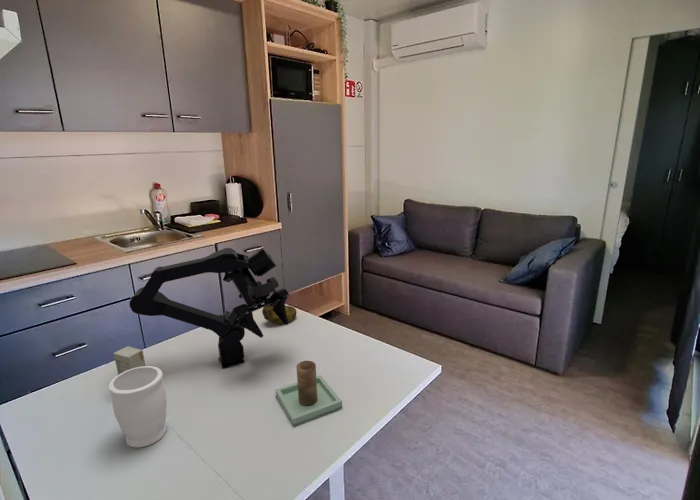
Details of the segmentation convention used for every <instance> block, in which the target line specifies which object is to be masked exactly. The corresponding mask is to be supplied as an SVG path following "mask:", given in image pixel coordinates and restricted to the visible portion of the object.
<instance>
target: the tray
mask: <svg viewBox="0 0 700 500" xmlns="http://www.w3.org/2000/svg"><path fill="white" fill-rule="evenodd" d="M316 381H317V402H316V403H315V404H314V405H312V406H303V405H301V404H300V403H299V397H298V382H294V383H292V384H288V385H286V386H282V387H279V388H276V389H275V397H276V399H277V401H278V402H279V404H280V406H281V407H282V409H283V411H284V413H285V414H286V417H287V418H288V420H289V421H290V423H291V425H292V426H293V427H296V426H298V425H301V424H304V423H306V422H310V421H312V420H315V419H317V418H320V417H323V416H326V415H328V414H331V413H334V412H336V411H338V410H341V409H343V400H342V399H341V398H340V397H339V395H337V393H336V392H335V391H334V390H333V388H332V387H331V386H330V385H329V384H328V382H327V381H326V380H325V379H324V377H323V376H322V375H321V374H320V375H316Z"/></svg>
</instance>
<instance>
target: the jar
mask: <svg viewBox="0 0 700 500" xmlns="http://www.w3.org/2000/svg"><path fill="white" fill-rule="evenodd" d="M162 379H163V372H162V369H160V368H159V367H158V366H152V365H146V366H142V367H136V368H133V369H130V370H127V371H125V372H123V373H121V374H119V375H118V374H117V375H116V376H115V377H114V378H112V379H111V380H110V382H109V384H108V388H109V393H111V394H112V398H111V399H112V409H113V410H112V411H113V413H114V417H115V419H116V421H117V423H118V425H119V427H120V428H119V429H121V432H122V434H124V435H125V436H126V437H125V442H126V444H127V445H128V446H129V447H131V448H144V447H148V446H151V445H153V444H155V443H156V442H158V441H159V440H160V439H162V437H164V435H165V434H166V431H167V424H166V418H167V393H166V388H165V385H164V383H163V381H162Z"/></svg>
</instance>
